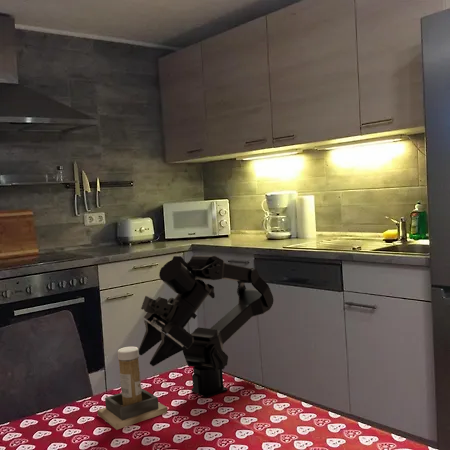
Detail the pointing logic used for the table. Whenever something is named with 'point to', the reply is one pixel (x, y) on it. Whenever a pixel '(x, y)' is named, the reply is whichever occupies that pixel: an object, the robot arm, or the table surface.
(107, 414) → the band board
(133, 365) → the sprinkles bottle
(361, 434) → the table surface
